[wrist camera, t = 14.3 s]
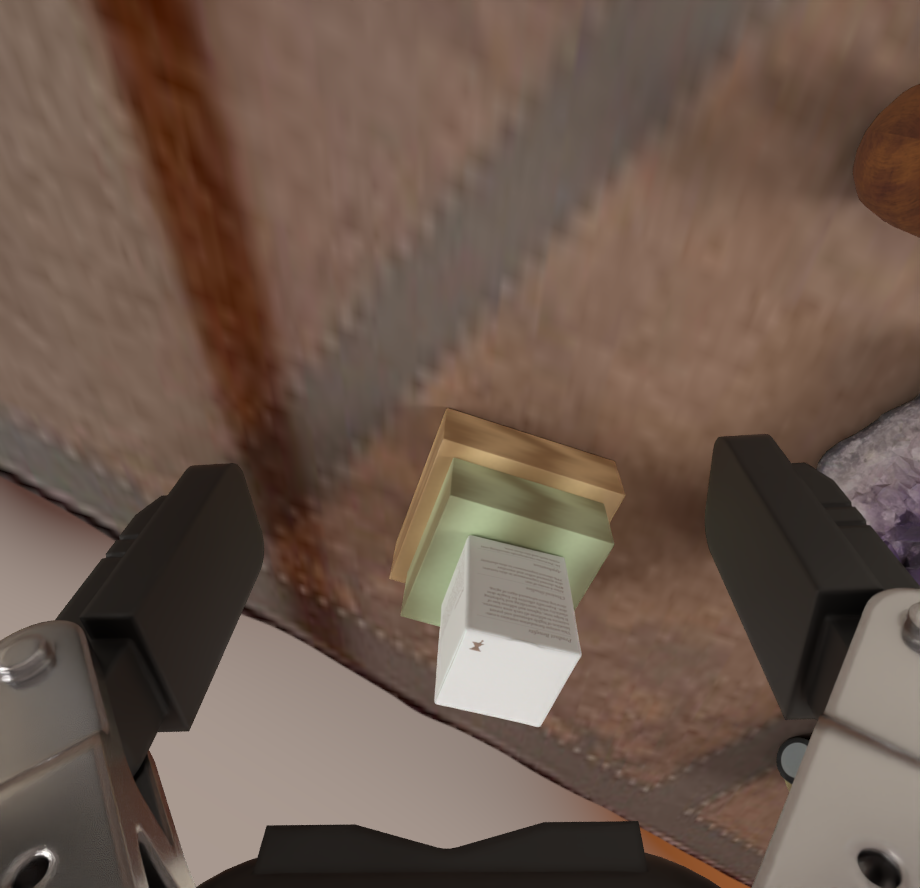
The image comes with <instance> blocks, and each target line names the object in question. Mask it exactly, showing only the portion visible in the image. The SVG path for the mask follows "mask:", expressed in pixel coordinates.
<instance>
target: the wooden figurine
mask: <svg viewBox="0 0 920 888" xmlns="http://www.w3.org/2000/svg"><path fill="white" fill-rule="evenodd" d="M853 176H854V181H855V186H856V191H857V194H858V197H859V200H860V201H861V202H862V203H863V204H864V205H865V206H866V207H867V208H868V209H870V210H871V211H872V212H873V213H875V214H876V215H877V216H878V217H879V218H881V219H882V220H883V221H885V222H887V223H888V224H890V225H892V226H894V227H896V228H899V229H901V230H903V231H905V232H908V233H910V234H912V235H915V236H917V237H919V238H920V84H918V85H916V86H914V87H912V88H910V89H908V90H907V91H905V92H903V93H902V94H901V95H900V96H899V97H898V98H896V99H895V100H894V101H893V102H892V103H891V104H890V105H889V106H888V107H886V108H885V109H884V110H883V111H882V112H881V113H880V114H879V115H878V116H877V117H876V119H875V120H874V121H873V123H872V124H871V125H870V127H869V128H868V129H867V130H866V132H865V134H864V136H863V138H862V141H861V143H860V145H859V147H858V149H857V153H856V157H855V161H854V166H853Z"/></svg>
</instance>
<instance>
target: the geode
mask: <svg viewBox="0 0 920 888" xmlns="http://www.w3.org/2000/svg"><path fill="white" fill-rule="evenodd" d="M816 470H818V471H819V472H821V473H823V474H824V475H826V476H828V477H829V478H831V479H832V480H834V481H835V482H836V484H837V485H838V486H839V487H840V489H841V490H842V491H843V492H844V493H845V495H846V496H847V497H848V498H849V500H850V501H851V502H852V503H851V505H852V507H856V508H857V509H858V511H859V512H860V513H861V514H862V516H863V517H864V518H865V519H866V524H867V525H871V527H872V528H873V529H874V530H875V532H876V533H877V534H878V535H879V537H880V538H881V539H882V540H883V541H884V543H885V544H886V545H887V546H888V548H889V549H890V550H891V551H892V552H893V554H894V555H895V556H896V557H897V559H898V560H899V561H900V562H901V564H902V565H903V566H904V567H905V568H906V570H907V571H908V572H909V573H910V575H911V576H912V577H913V578H914V580H915V581H916V582H917V583H918V584H919V586H920V393H919V394H918V395H917V396H916V398H915V399H914V400H912V401H910V402H908V403H905V404H903V405H901V406H899V407H896V408H894V409H892V410H890V411H888V412H886V413H884V414H882V415H881V416H880V417H879V418H878V419H877V420H876V421H874V422H873V423H872V424H870V425H869V426H867V427H866V428H864V429H863V430H861V431H860V432H858V433H856V434H855V435H853V436H851V437H849V438H847V439H845V440H843V441H841V442H839V443H838V444H836V445H835V446H834V447H832V448H831V449H829V450H828V451H827V452H826V453H825V454H824V456H823V457H822V458H821V460H820V461H819V463H818V466H817V469H816Z"/></svg>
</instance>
